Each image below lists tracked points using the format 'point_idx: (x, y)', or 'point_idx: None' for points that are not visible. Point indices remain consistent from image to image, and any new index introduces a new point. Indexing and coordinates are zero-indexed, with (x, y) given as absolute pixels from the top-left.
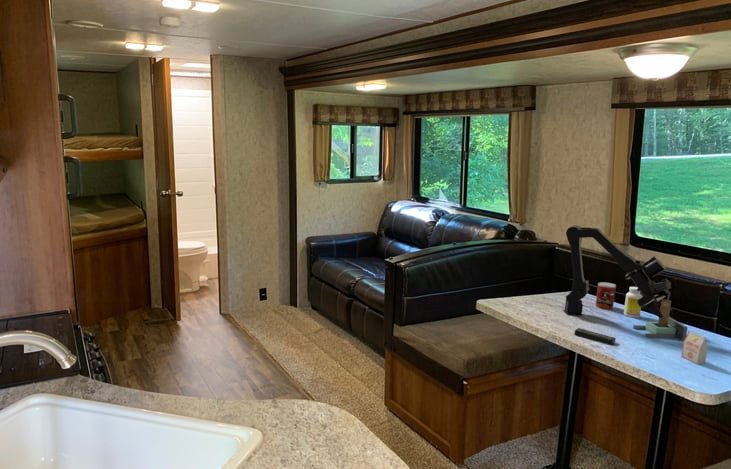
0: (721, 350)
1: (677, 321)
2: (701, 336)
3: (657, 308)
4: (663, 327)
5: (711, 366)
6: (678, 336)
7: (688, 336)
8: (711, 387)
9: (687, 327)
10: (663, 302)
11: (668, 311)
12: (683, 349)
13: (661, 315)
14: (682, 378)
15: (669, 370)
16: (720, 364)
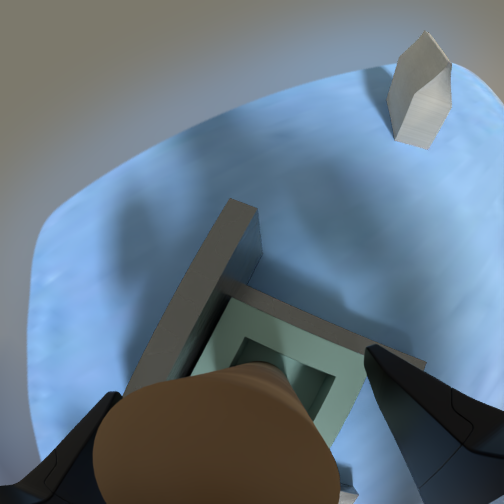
0: (194, 132)
1: (161, 321)
2: (432, 38)
3: (460, 397)
4: (303, 357)
5: (381, 86)
6: (244, 280)
7: (448, 79)
8: (455, 70)
9: (231, 199)
10: (329, 477)
11: (250, 367)
12: (438, 125)
13: (389, 354)
14: (490, 105)
15: (500, 132)
16: (339, 81)
